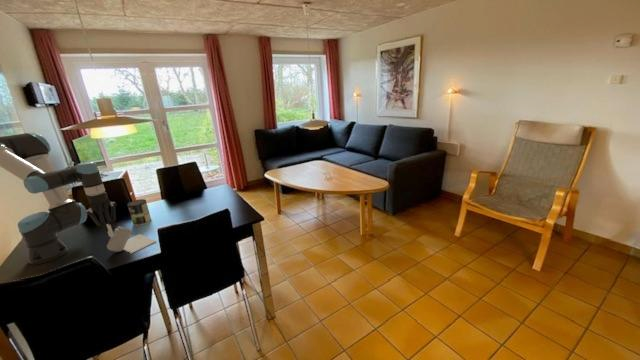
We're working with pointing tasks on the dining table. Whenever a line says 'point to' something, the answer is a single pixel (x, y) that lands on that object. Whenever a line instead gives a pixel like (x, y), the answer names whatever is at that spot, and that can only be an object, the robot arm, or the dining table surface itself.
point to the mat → (137, 243)
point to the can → (119, 239)
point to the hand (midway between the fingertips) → (111, 236)
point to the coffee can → (139, 212)
